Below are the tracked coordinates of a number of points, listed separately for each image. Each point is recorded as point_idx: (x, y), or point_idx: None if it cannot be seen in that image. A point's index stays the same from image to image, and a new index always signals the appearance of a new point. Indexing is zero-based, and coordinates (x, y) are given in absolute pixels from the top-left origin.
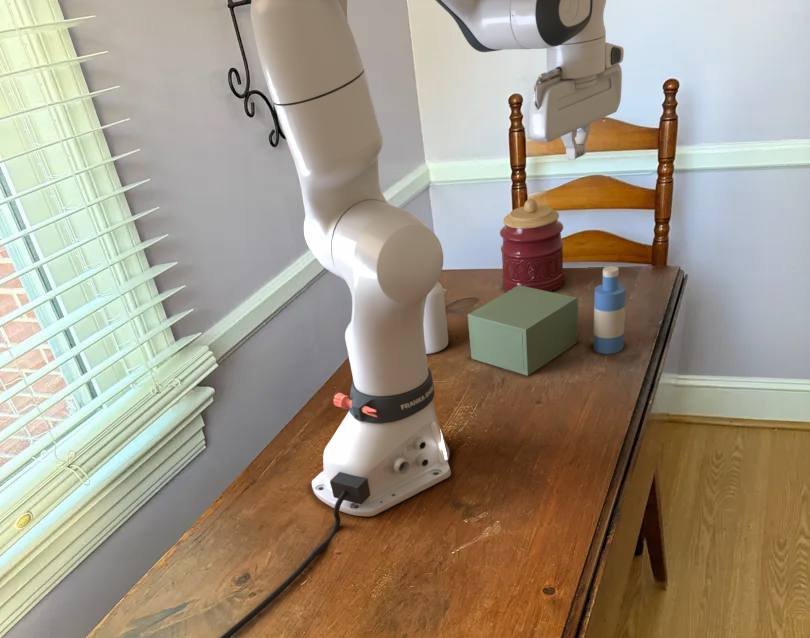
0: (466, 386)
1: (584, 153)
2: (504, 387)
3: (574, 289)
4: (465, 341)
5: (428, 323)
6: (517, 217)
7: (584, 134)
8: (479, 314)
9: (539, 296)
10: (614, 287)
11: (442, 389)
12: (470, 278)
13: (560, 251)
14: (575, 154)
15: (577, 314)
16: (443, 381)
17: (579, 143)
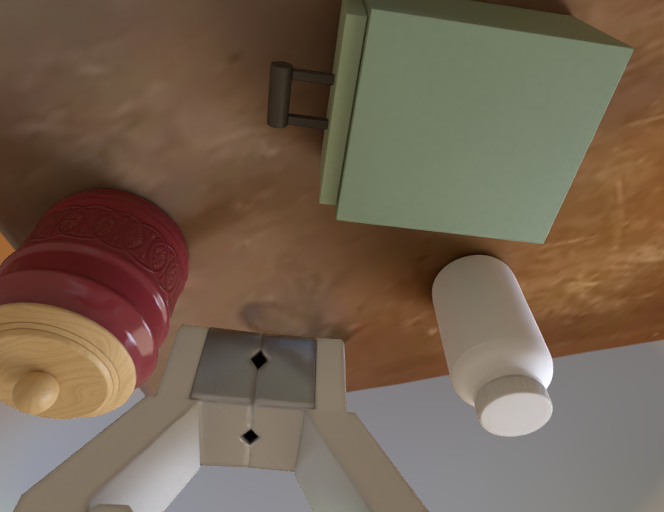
0: (638, 128)
1: (193, 327)
2: (637, 41)
3: (83, 150)
4: (432, 236)
5: (526, 307)
6: (103, 388)
7: (120, 489)
8: (539, 219)
9: (393, 129)
10: None
11: (654, 167)
12: (165, 363)
13: (52, 236)
14: (340, 362)
15: (348, 4)
16: (618, 184)
17: (195, 434)
